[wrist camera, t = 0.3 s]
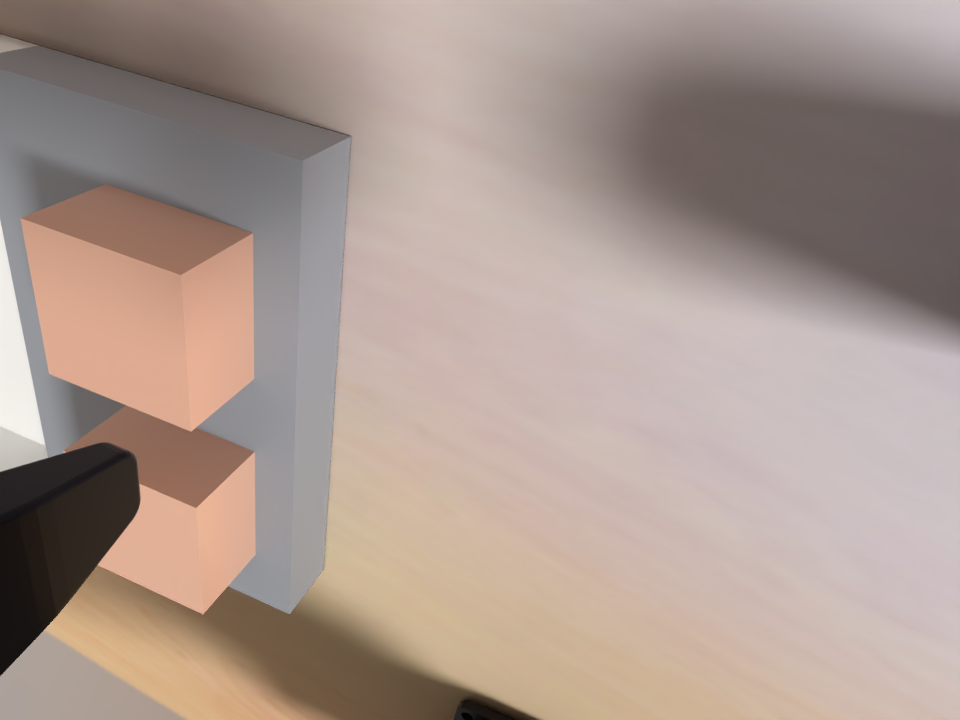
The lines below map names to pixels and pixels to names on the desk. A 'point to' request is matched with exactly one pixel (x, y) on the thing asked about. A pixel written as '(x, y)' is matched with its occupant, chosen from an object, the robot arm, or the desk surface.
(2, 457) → the tray
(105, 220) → the tile
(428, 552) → the desk surface
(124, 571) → the tile
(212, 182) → the bench board
